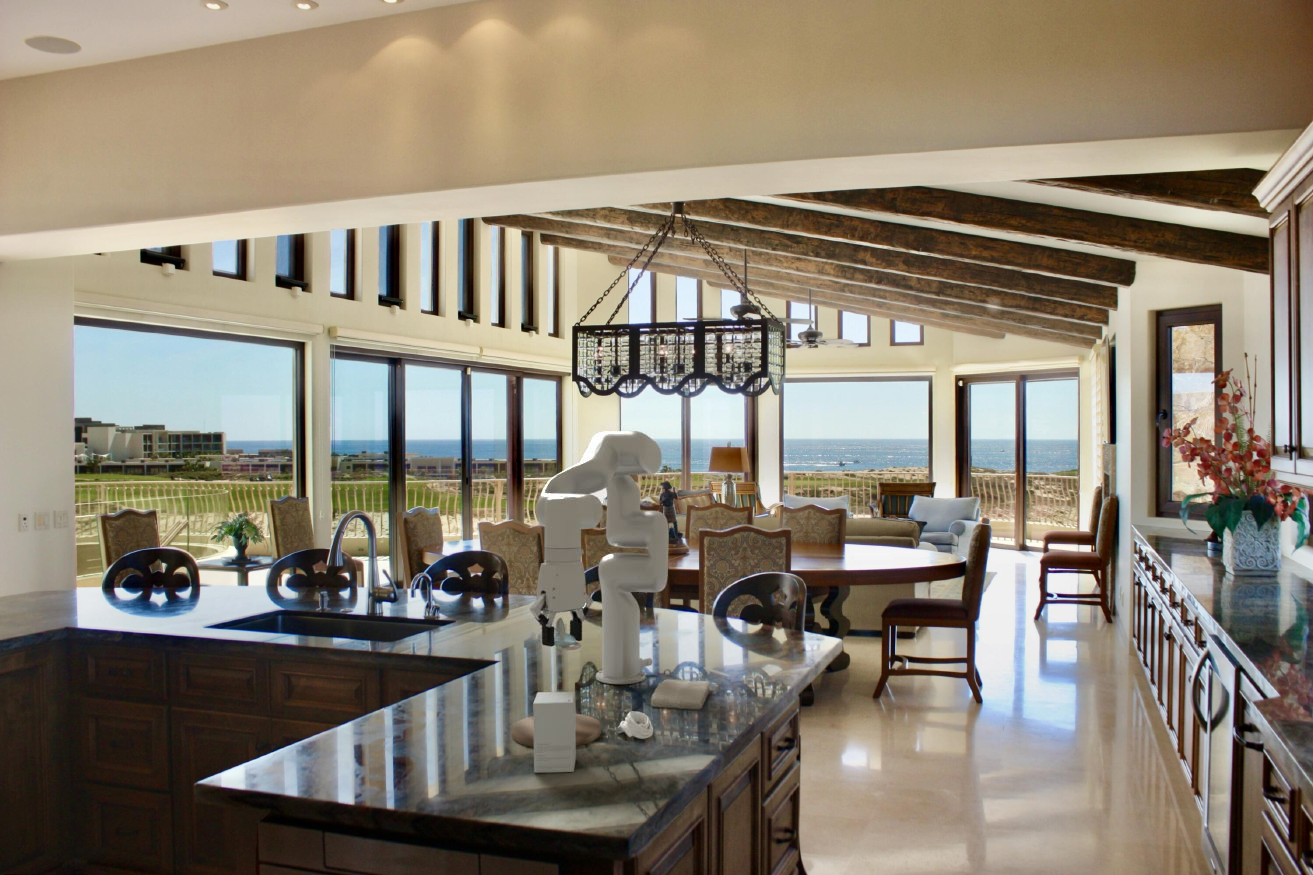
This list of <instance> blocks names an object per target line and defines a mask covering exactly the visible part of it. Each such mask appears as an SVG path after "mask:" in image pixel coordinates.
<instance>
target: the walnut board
mask: <svg viewBox="0 0 1313 875" xmlns="http://www.w3.org/2000/svg"><path fill="white" fill-rule="evenodd" d="M511 728H512V729H511V737H512V739H513V740H514V741H515V742H516V743H517V744H520V745H523V746H526V747H531V748H534V716H533V715H532V716H528V717H524V718H523V719H520V720H517V721H516V722H515V723H514V724H513V725H512V727H511ZM601 735H602V723H601V721H599V720H598V719H597V718H595V717H593V716H592V717H591V716H589V715H585V714H581V713H575V745H576V747H579V746H583V745H587V744H590V743H593V742H594V741H596V740H597V739H598V738H600V736H601Z"/></svg>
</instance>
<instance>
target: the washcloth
mask: <svg viewBox="0 0 1313 875" xmlns="http://www.w3.org/2000/svg"><path fill="white" fill-rule="evenodd" d="M710 687H711V683H710V682H709V681H706V680H700V681H699V680H698V681H696V680H694V681H691V680H690V681H689V680H684V679H680V678H679V679H669V678H668V679H663V681H662V682H658V685H657V687H656V688H655V690H654V692H653V693H652V694H651V698H650V706H651V707H653V708H665V709H667V708H669V709H679V710H680V709H681V710H682V709H683V710H685V709H686V710H702V708H703V706H704V703H705V701H706V699H707V696H708V694H709V693H710V691H711V688H710Z"/></svg>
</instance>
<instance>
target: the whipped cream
mask: <svg viewBox="0 0 1313 875" xmlns="http://www.w3.org/2000/svg"><path fill="white" fill-rule="evenodd" d="M624 719H625V720H621V722H619V726H618V727H617V728H616V731H615V732H616V734H621V733H625V734H626V735H627V736H628V737H629V738H631V737H635V738H637V739H641V740H644V739H645V740H646V739H647V738H650V737H652V736H653V734H654V728H653V726H652V722H651V720H650V718H649V716H648V715H647V714H645V713H643V712H641V711H629V712H628V713H627V715H626V716H625V718H624Z"/></svg>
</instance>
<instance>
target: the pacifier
mask: <svg viewBox="0 0 1313 875" xmlns="http://www.w3.org/2000/svg"><path fill="white" fill-rule="evenodd" d="M555 628H556V630H557V631H558V633H559V634H557V635H556V636H554V646H556V648H557V650H559V651H560V650H561V651H562V650H563V651H564V650H565V651H574V650H578V649H581V647H582V644H581V643H580V642H579V641H576V639H575V637H573V636H572V635H570V633H566V627H565V624H564V621H563V618H562V617H559V618H557V620H556V621H555Z"/></svg>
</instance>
